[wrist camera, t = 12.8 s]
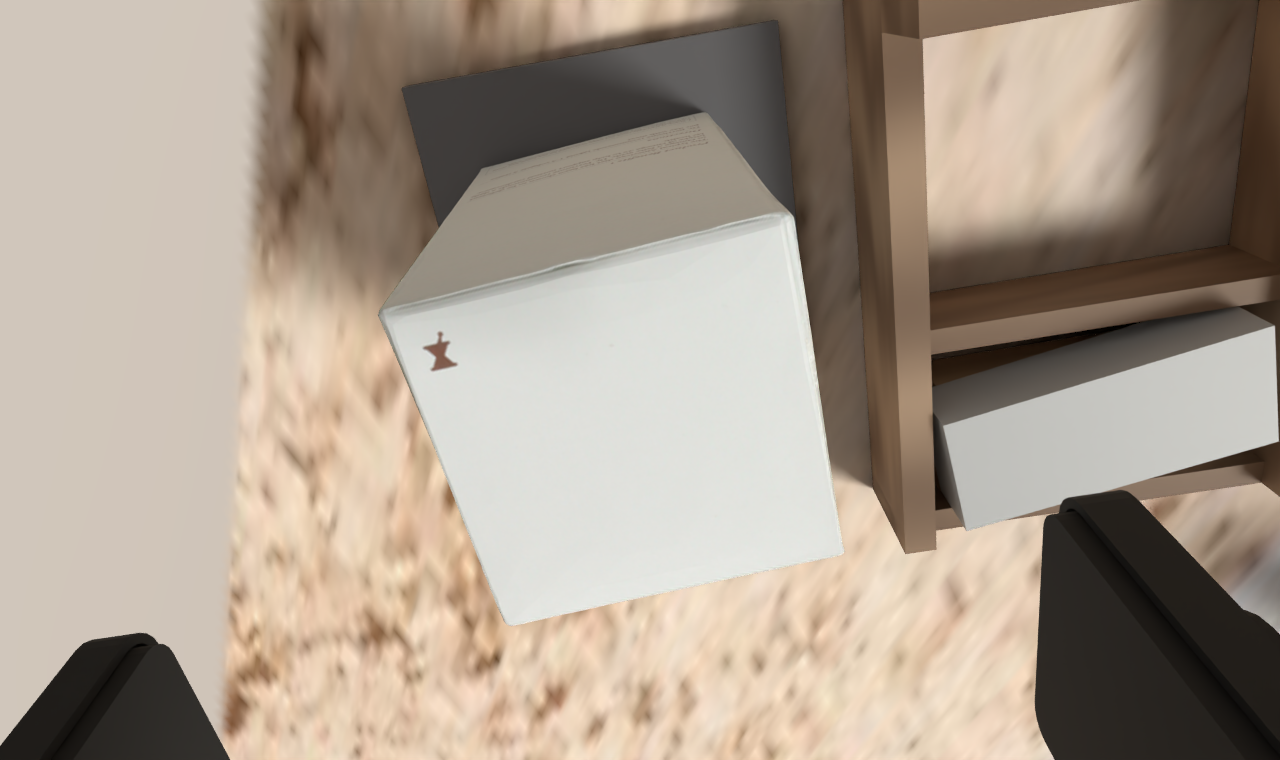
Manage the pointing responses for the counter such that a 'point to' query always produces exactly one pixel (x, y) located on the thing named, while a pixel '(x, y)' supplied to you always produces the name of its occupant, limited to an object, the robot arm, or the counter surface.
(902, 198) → the walnut rack
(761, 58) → the rubber mat
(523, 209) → the supplement box
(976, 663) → the counter surface
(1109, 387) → the upper offcut
